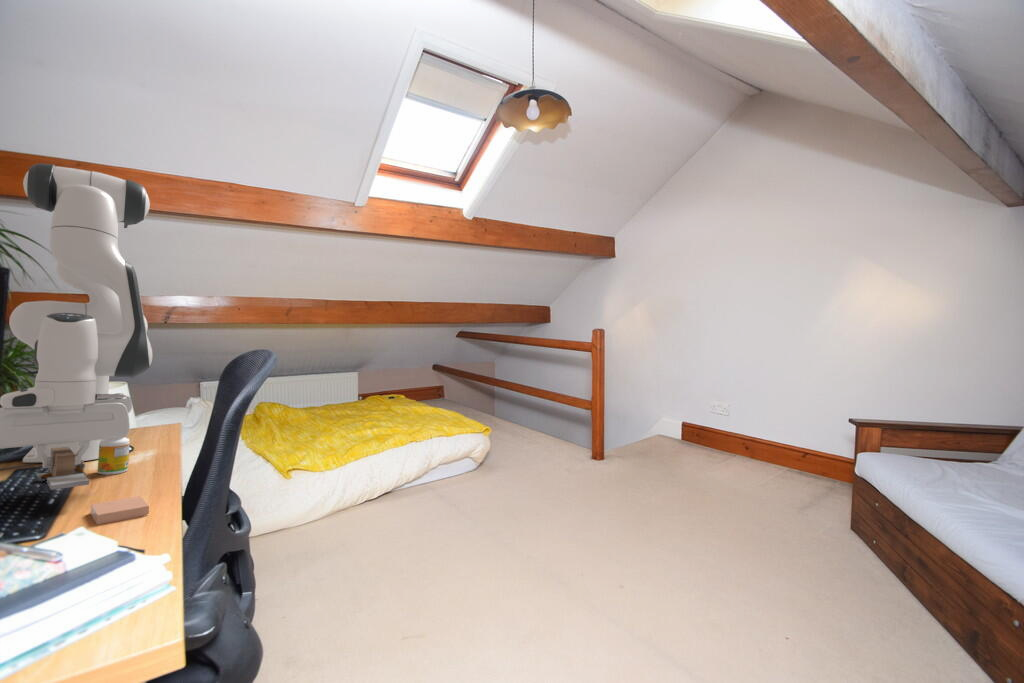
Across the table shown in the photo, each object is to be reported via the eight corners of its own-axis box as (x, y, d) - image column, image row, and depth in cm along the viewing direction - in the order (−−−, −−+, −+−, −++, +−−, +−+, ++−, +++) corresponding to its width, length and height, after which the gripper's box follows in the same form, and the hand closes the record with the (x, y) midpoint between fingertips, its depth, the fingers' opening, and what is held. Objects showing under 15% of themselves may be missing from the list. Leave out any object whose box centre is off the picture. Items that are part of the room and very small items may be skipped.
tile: (91, 504, 84) (97, 515, 79) (140, 496, 89) (149, 505, 85) (90, 515, 84) (96, 527, 79) (139, 507, 89) (148, 517, 85)
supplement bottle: (91, 473, 107) (94, 430, 107) (119, 467, 112) (121, 426, 112) (106, 476, 105) (108, 432, 105) (133, 471, 110) (135, 429, 110)
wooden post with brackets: (88, 477, 101) (78, 458, 101) (45, 493, 99) (36, 474, 99) (93, 475, 103) (84, 456, 103) (51, 491, 101) (42, 472, 101)
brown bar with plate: (40, 471, 94) (42, 448, 94) (74, 467, 98) (76, 445, 98) (51, 489, 83) (52, 464, 83) (88, 484, 87) (90, 460, 87)
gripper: (129, 391, 103) (125, 455, 103) (-11, 396, 87) (-16, 471, 87) (135, 394, 99) (132, 460, 99) (-10, 399, 83) (-15, 478, 83)
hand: (61, 465), depth 93 cm, fingers closed on brown bar with plate, 2 cm apart
